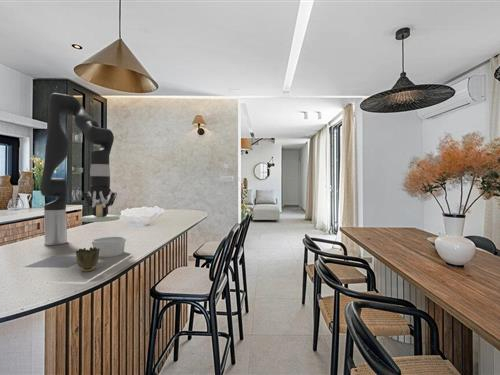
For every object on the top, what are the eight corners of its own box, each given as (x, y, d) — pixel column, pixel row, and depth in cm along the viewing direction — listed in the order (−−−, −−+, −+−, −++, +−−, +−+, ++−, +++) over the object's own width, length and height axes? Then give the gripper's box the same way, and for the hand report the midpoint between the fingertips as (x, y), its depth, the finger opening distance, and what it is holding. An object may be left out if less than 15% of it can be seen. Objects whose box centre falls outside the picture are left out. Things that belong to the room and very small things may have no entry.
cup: (75, 276, 101) (74, 252, 101) (76, 270, 108) (76, 248, 108) (99, 273, 105) (99, 250, 105) (99, 267, 111) (99, 246, 111)
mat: (53, 257, 126) (53, 255, 126) (91, 257, 126) (91, 256, 126) (24, 268, 110) (24, 266, 110) (67, 269, 110) (67, 267, 110)
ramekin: (90, 260, 122) (90, 243, 122) (92, 253, 134) (92, 237, 134) (126, 257, 127) (126, 241, 127) (125, 250, 139) (125, 235, 139)
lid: (92, 217, 135) (92, 203, 135) (125, 217, 135) (125, 203, 134) (71, 221, 120) (71, 206, 120) (108, 222, 120) (108, 206, 119)
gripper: (120, 175, 131) (120, 215, 131) (89, 175, 131) (89, 215, 131) (112, 175, 123) (112, 217, 123) (78, 175, 124) (78, 217, 124)
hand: (100, 215), depth 127 cm, fingers closed on lid, 3 cm apart
